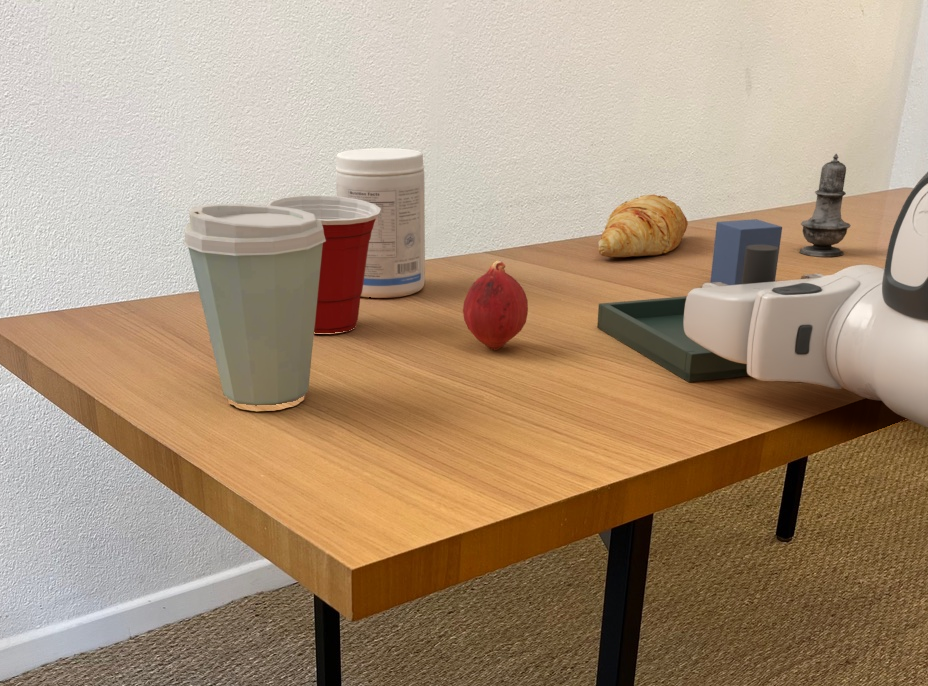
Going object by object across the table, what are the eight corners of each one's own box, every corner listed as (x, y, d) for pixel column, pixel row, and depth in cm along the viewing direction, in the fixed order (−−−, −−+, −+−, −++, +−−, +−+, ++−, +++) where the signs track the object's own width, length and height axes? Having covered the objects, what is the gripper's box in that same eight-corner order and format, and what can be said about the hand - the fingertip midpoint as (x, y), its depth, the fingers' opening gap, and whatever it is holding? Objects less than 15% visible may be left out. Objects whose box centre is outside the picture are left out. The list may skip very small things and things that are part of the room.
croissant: (621, 293, 129) (653, 238, 124) (559, 246, 132) (588, 191, 127) (693, 259, 144) (725, 209, 139) (637, 218, 147) (665, 168, 142)
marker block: (749, 282, 119) (756, 219, 116) (774, 291, 115) (782, 226, 112) (709, 285, 118) (716, 221, 115) (733, 295, 114) (741, 229, 111)
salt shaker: (831, 259, 130) (847, 157, 125) (788, 252, 134) (801, 153, 129) (854, 252, 133) (870, 153, 128) (811, 246, 137) (825, 149, 132)
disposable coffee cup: (311, 373, 90) (301, 193, 84) (353, 412, 81) (345, 213, 75) (188, 389, 86) (167, 202, 80) (217, 432, 77) (197, 225, 71)
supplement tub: (350, 279, 123) (345, 147, 117) (431, 281, 121) (430, 147, 115) (332, 299, 114) (325, 157, 108) (418, 301, 113) (416, 158, 106)
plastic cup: (334, 350, 96) (328, 216, 91) (250, 331, 102) (240, 205, 97) (406, 324, 104) (404, 200, 99) (324, 309, 110) (319, 190, 105)
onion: (510, 362, 92) (512, 271, 89) (452, 353, 95) (452, 264, 92) (536, 345, 97) (539, 258, 94) (480, 337, 100) (481, 252, 96)
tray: (742, 314, 106) (754, 215, 102) (855, 364, 91) (875, 250, 86) (596, 327, 102) (603, 225, 98) (688, 382, 87) (700, 263, 83)
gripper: (990, 275, 78) (869, 241, 90) (747, 297, 73) (654, 258, 85) (972, 357, 81) (857, 314, 93) (737, 383, 76) (648, 334, 88)
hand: (758, 287), depth 89 cm, fingers open, 8 cm apart
